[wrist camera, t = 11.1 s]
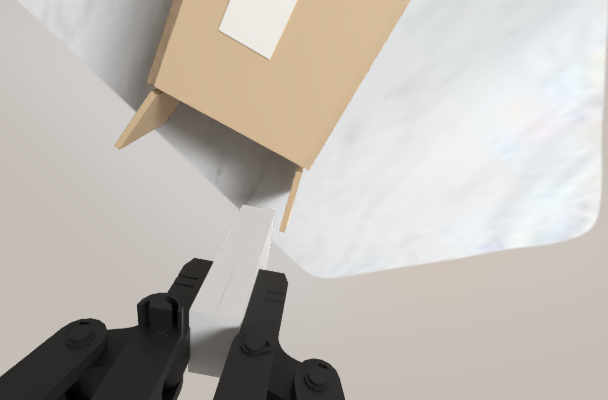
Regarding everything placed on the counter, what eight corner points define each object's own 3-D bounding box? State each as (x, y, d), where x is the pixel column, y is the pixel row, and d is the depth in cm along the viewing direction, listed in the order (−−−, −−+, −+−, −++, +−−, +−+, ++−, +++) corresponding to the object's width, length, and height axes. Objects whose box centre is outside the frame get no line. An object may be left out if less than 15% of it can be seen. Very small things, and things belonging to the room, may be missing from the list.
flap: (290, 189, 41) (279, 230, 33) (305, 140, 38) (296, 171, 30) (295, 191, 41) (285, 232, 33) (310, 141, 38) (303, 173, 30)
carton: (262, -114, 30) (228, -175, 21) (405, -20, 32) (432, -37, 23) (193, 67, 36) (145, 82, 27) (315, 136, 38) (308, 170, 29)
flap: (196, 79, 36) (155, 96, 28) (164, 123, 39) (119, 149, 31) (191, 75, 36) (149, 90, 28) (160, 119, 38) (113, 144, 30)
